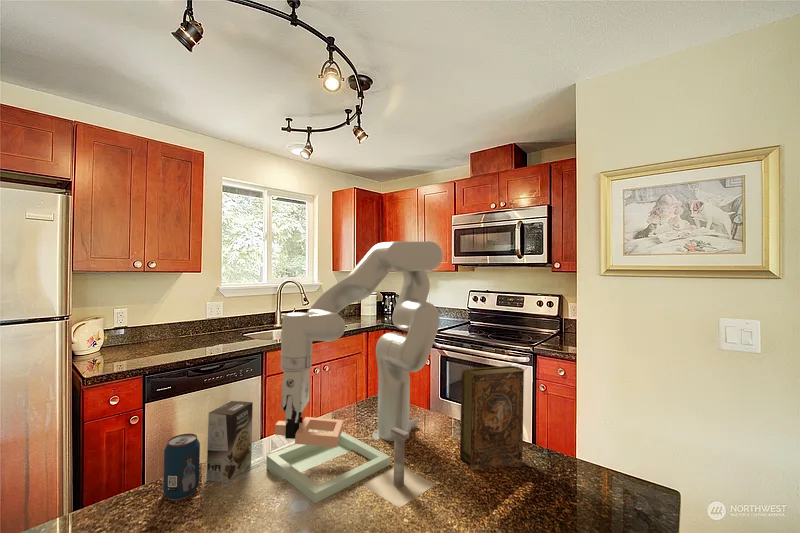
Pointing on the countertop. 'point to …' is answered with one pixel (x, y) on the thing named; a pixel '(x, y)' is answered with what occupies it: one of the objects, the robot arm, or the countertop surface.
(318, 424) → the pink flat frame
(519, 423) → the book
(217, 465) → the coffee box
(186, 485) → the soda can
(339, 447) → the tray
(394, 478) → the stake stand
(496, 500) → the countertop surface
